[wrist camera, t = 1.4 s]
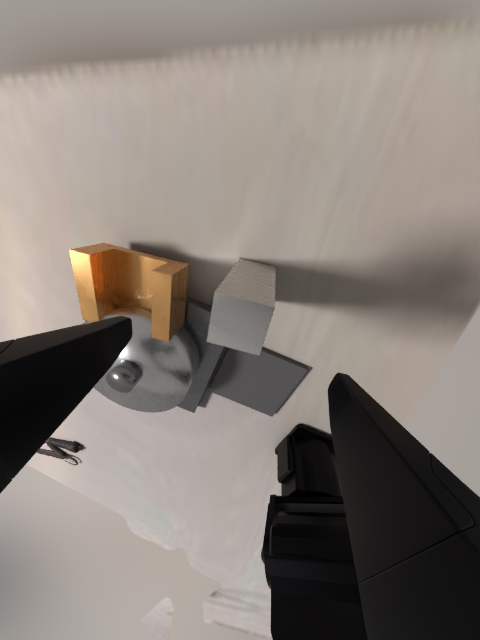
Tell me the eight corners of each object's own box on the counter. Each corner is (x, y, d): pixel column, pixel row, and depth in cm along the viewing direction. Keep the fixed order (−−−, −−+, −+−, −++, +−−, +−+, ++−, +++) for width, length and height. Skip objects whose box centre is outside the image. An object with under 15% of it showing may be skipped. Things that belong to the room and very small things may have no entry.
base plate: (236, 317, 20) (234, 322, 19) (197, 406, 27) (194, 412, 26) (94, 256, 19) (86, 259, 18) (91, 363, 26) (85, 369, 25)
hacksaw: (83, 439, 36) (76, 448, 35) (100, 472, 41) (94, 480, 40) (-34, 417, 39) (-44, 424, 38) (-5, 450, 44) (-13, 457, 42)
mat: (307, 366, 21) (307, 370, 21) (272, 412, 25) (272, 416, 25) (234, 335, 21) (233, 338, 20) (210, 387, 25) (208, 390, 24)
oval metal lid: (194, 400, 24) (177, 437, 20) (103, 375, 25) (70, 407, 21) (212, 270, 17) (192, 289, 13) (81, 237, 17) (22, 246, 13)
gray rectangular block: (275, 266, 17) (274, 307, 10) (266, 299, 18) (259, 355, 11) (239, 257, 17) (214, 292, 10) (233, 291, 19) (206, 341, 12)
